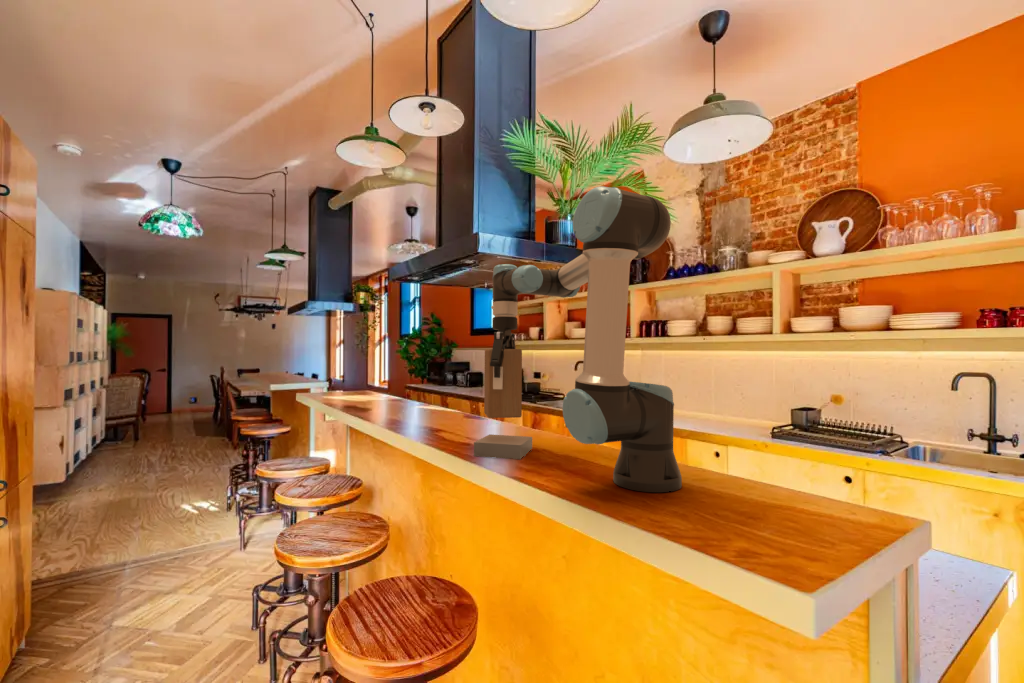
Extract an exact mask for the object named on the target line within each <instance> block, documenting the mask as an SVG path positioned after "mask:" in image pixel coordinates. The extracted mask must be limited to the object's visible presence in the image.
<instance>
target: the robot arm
mask: <svg viewBox="0 0 1024 683" xmlns="http://www.w3.org/2000/svg"><path fill="white" fill-rule="evenodd" d="M671 225H672V222H671V216H670V213H669V210H668V208H667V207H666V205H665V204H664V203H663V202H662V201H661V200H660V199H658V198H656V197H653V196H650V195H644V194H641V193H640V194H639V193H636V192H632V191H628V190H623V189H620V188H618V187H615V186H612V187H610V186H609V187H608V186H602V185H601V186H600V185H599V186H596V187H593V188H592V189H589V191H587V192H586V193H585V194H584V195H583V196H582V198H581V200H580V201H579V202H578V204H577V206H576V208H575V211H574V214H573V219H572V230H573V234H574V237H575V238H576V239H577V240H578V241H579V242H581V243H582V253H581V254H580V255H578V256H577V257H575V258H574V259H572V260H571V261H569V262H567V263H566V264H564V265H563V266H561V267H560V268H558V269H557V270H553V269H544V268H538V267H537V266H535V265H532V264H527V265H525V264H524V265H520V266H516V265H514V264H511V263H505V264H503V263H502V264H497V265H495V266H494V267H493V270H492V271H493V272H492V305H491V309H492V315H493V318H492V329H493V330H495V331H494V332H493V343H492V348H491V349H492V355H491V361H490V366H494V367H493V389H503V367H500V366H502V362H503V358H504V349H517V348H516V341H515V340H516V336H515V333H512V331H513V330H514V331H516V330H517V329H518V317H517V316H518V313H519V312H518V295H536V296H548V297H559V298H564V299H565V298H572V297H576V295H577V294H578V292H579V291H580V288H581V287H582V286H583V285H585V284H587V292H586V293H587V295H586V314H585V329H584V330H585V331H584V344H583V345H584V348H583V367H582V372H581V373H580V374H579V375H578V376H576V377H575V382H574V383H575V384H574V388H573V389H571V390H569V391H568V392H567V393H566V395H565V396H564V398H563V402H562V416H563V421H564V424H565V426H566V428H567V430H568V432H569V434H571V436H572V438H574V439H575V440H576V441H577V442H579V443H582V444H585V445H592V444H593V445H603V444H607V443H614V442H616V443H617V442H620V450H619V454H618V456H617V459H616V463H615V465H614V469H613V471H612V472H613V475H612V476H613V477H612V478H613V479H612V480H613V483H614V484H615V485H617V486H618V487H620V488H621V487H622V488H624V489H628V490H632V491H636V492H645V493H670V492H669V491H671V492H675V491H678V490H680V489H682V486H683V485H682V484H683V482H682V481H683V479H682V478H683V477H682V474H681V471H680V467H679V465H678V462H677V461H678V460H677V459H676V456H675V452H674V414H675V413H674V411H675V410H674V406H675V403H674V393H673V390H672V389H671V388H670V387H669V386H668V385H662V384H657V383H647V382H642V381H641V382H638V381H630V380H629V379H628V378H626V377H625V375H624V366H625V351H626V349H625V348H626V336H627V335H626V334H627V322H628V321H627V316H628V302H629V287H630V268H631V263H632V260H640V259H642V258H644V257H646V256H648V255H650V254H652V253H653V252H655V251H656V250H658V249H659V248H660V247H662V245H663V244H664V243H665V242H666V241H667V238H668V237H669V235H670V231H671V227H672V226H671ZM502 349H503V350H502Z"/></svg>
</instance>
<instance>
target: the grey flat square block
mask: <svg viewBox="0 0 1024 683" xmlns="http://www.w3.org/2000/svg"><path fill="white" fill-rule="evenodd" d="M531 449H532V450H533V436H526V435H525V436H524V435H507V434H487V435H485V436H483V437H481V438H480V439H478V440H476V441H474V442H473V456H474V457H478V456H480V457H482V458H492V457H496V459H507V458H513V459H512V460H522V459H523V458H524V457H526V456H527V455H528V454H529V453H530V452H531V451H532V450H531ZM530 450H531V451H530ZM529 451H530V452H529ZM528 452H529V453H528ZM527 453H528V454H527ZM526 454H527V455H526ZM523 456H524V457H523ZM480 457H479V458H480ZM522 457H523V458H522ZM521 458H522V459H521Z"/></svg>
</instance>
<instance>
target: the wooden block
mask: <svg viewBox="0 0 1024 683" xmlns="http://www.w3.org/2000/svg"><path fill="white" fill-rule="evenodd" d="M492 349H493V348H485V350H484V386H483V387H484V393H483V394H484V396H483V397H484V398H483V399H484V401H483V402H484V404H483V405H484V406H483V407H484V408H483V410H484V411H483V412H484V415H485V416H486V417H487V418H489V419H495V418H496V419H502V418H503V419H505V418H506V419H507V418H514V419H515V418H522V413H523V412H522V409H523V407H522V405H523V404H522V402H523V400H522V399H523V397H522V396H523V395H522V394H523V386H522V385H523V383H522V382H523V381H522V380H523V379H522V378H523V377H522V375H523V374H522V373H523V350H522V349H521V348H516V349H504V358H503V362H502V366H500V367H503V389H493V367H494V366H490V361H491V355H492ZM502 350H503V349H502Z"/></svg>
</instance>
